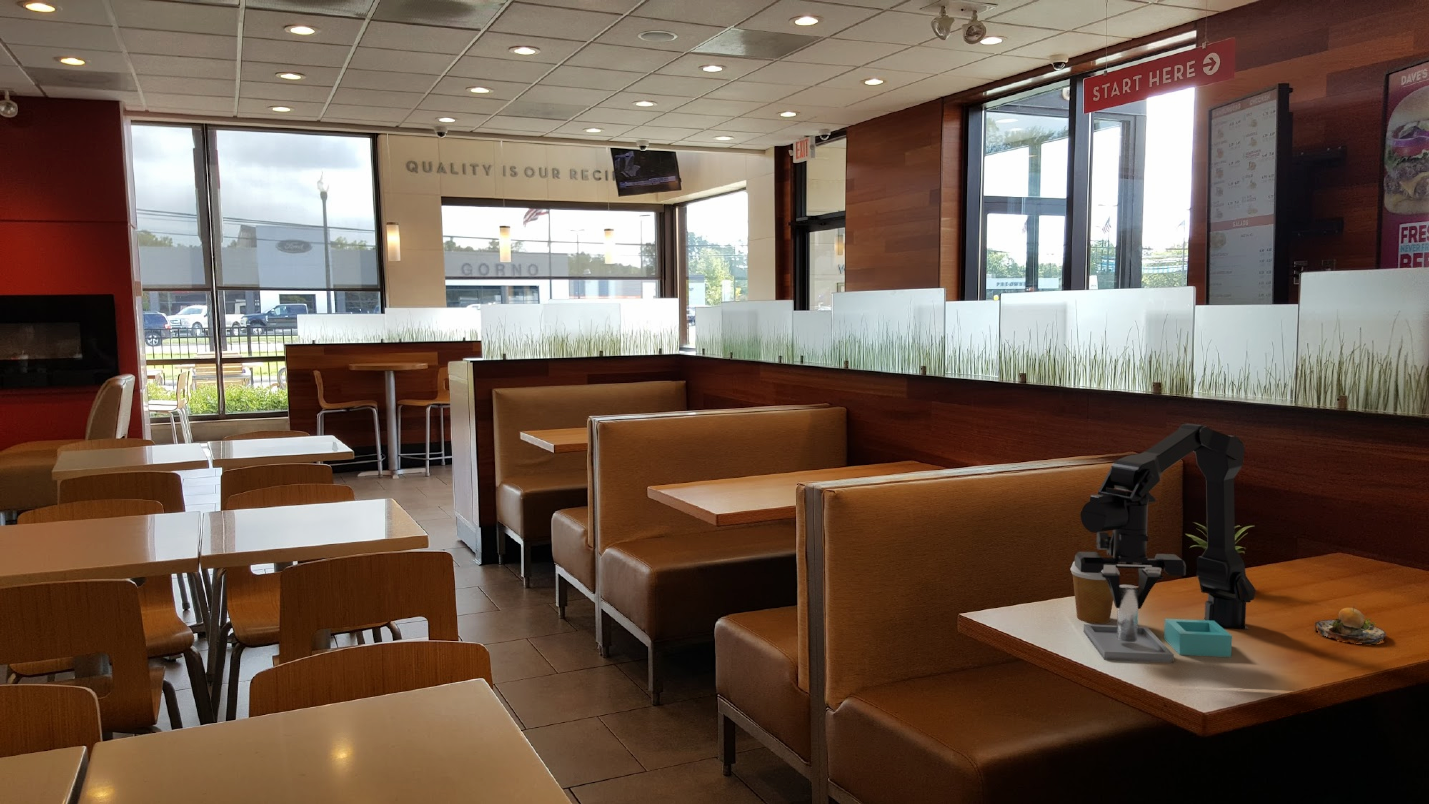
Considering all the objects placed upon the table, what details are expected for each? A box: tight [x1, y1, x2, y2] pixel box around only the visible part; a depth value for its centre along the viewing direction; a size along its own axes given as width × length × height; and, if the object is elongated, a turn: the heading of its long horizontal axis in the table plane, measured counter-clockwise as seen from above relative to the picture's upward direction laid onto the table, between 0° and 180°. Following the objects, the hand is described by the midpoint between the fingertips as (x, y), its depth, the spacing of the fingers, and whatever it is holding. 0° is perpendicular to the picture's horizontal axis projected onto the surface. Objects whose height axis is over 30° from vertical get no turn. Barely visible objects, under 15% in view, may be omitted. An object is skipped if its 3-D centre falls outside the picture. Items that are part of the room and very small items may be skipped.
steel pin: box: [1116, 584, 1139, 642], centre depth 184 cm, size 4×4×10 cm
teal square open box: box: [1163, 618, 1233, 658], centre depth 184 cm, size 9×9×4 cm
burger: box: [1314, 603, 1387, 645], centre depth 192 cm, size 12×12×8 cm
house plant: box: [1185, 521, 1254, 555], centre depth 226 cm, size 14×14×16 cm
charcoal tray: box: [1083, 623, 1175, 664], centre depth 185 cm, size 12×16×2 cm
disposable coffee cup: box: [1070, 560, 1120, 625], centre depth 201 cm, size 10×10×12 cm
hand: (1127, 607), depth 184 cm, fingers closed on steel pin, 4 cm apart
